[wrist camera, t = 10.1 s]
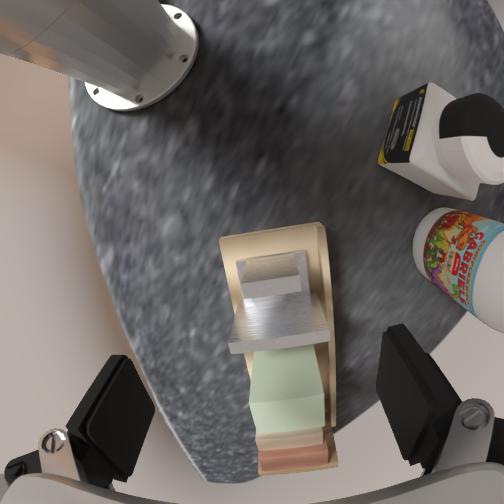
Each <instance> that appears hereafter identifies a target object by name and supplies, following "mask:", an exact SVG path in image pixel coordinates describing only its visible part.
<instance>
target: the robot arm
mask: <svg viewBox="0 0 504 504" xmlns="http://www.w3.org/2000/svg"><path fill="white" fill-rule="evenodd" d="M198 47H199V37H198V32H197V29H196V26H195V25H194V23H193V21H192V19H191V18H190V17H189V16H188V15H187V13H185V12H184V11H182V10H181V9H179V8H177V7H174V6H171V5H166V4H160V3H159V1H158V0H0V53H1V54H4V55H7V56H11V57H14V58H18V59H21V60H24V61H27V62H30V63H33V64H37V65H39V66H42V67H45V68H48V69H51V70H54V71H57V72H59V73H62V74H65V75H67V76H70V77H73V78H75V79H78V80H80V81H83V82H85V86H86V88H87V91H88V93H89V95H90V96H91V97H92V99H93V100H94V101H95V102H97V103H98V104H99V105H101V106H103V107H105V108H108V109H111V110H115V111H125V112H126V111H134V110H138V109H142V108H145V107H148V106H150V105H152V104H154V103H156V102H158V101H160V100H161V99H163V98H164V97H166V96H167V95H169V94H170V93H171V92H172V91H173V90H174V89H175V88H176V87H178V86H179V84H180V83H181V82H182V81H183V80H184V78H185V77H186V76H187V74H188V73H189V71H190V69H191V68H192V66H193V64H194V61H195V59H196V56H197V52H198ZM185 60H187V61H186V62H184V61H185ZM142 99H143V100H142ZM141 100H142V102H141ZM376 390H377V394H378V396H379V398H380V401H381V403H382V406H383V408H384V411H385V413H386V416H387V418H388V420H389V423H390V426H391V428H392V431H393V433H394V436H395V439H396V441H397V444H398V446H399V449H400V452H401V455H402V457H403V459H404V460H408V461H409V463H410V466H412V465H414V464H417V463H421V466H422V468H424V470H423V472H422V474H421V476H420V477H419V478H416V479H412V480H409V481H406V482H403V483H400V484H397V485H394V486H390V487H387V488H384V489H380V490H376V491H372V492H368V493H364V494H360V495H355V496H351V497H346V498H341V499H336V500H331V501H325V502H319V503H312V504H504V419H501V418H496V417H494V411H493V408H492V407H491V406H490V404H489V403H487V402H486V401H484V400H481V399H473V398H472V399H468V400H466V401H464V402H462V401H461V399H460V398H459V396H458V395H457V393H456V392H455V390H454V389H453V387H452V386H451V384H450V383H449V381H448V380H447V378H446V377H445V375H444V374H443V373H442V371H441V370H440V368H439V367H438V365H437V364H436V362H435V361H434V360H433V358H432V357H431V356H430V355H429V354H428V353H425V352H424V351H423V349H422V348H421V347H420V345H419V344H418V342H417V341H416V340H415V338H414V337H413V336H412V334H411V333H410V332H409V330H408V329H407V328H406V326H405V325H404V324H398V325H394V326H390V327H388V328H387V331H386V332H383V335H382V344H381V353H380V361H379V368H378V375H377V381H376ZM154 413H155V407H154V404H153V402H152V400H151V398H150V396H149V395H148V393H147V391H146V389H145V387H144V385H143V383H142V381H141V379H140V377H139V375H138V373H137V371H136V369H135V367H134V364H133V362H132V361H131V359H128V357H127V356H126V355H111V356H110V358H109V359H108V360H107V362H106V363H105V365H104V367H103V368H102V369H101V371H100V372H99V374H98V376H97V377H96V379H95V380H94V382H93V383H92V385H91V387H90V388H89V389H88V391H87V392H86V394H85V396H84V397H83V399H82V401H81V402H80V404H79V405H78V407H77V408H76V410H75V412H74V413H73V415H72V416H71V418H70V420H69V421H68V423H67V425H66V428H67V429H68V432H67V433H66V432H65V431H64V430H61V429H51V430H49V431H47V432H46V433H45V434H43V436H42V437H41V438H40V441H39V445H38V448H39V450H36V451H34V452H31V453H28V454H26V455H23V456H20V457H18V458H15V459H13V460H11V461H10V462H9V463H8V464H7V466H6V468H5V471H4V472H5V474H4V475H5V476H4V475H3V474H1V475H0V504H176V503H169V502H162V501H157V500H151V499H146V498H141V497H136V496H132V495H128V494H124V493H120V492H116V491H115V489H114V487H113V485H112V480H113V479H114V480H118V481H122V482H127V479H128V477H130V476H131V475H132V473H133V470H134V467H135V465H136V462H137V459H138V457H139V454H140V451H141V448H142V445H143V443H144V440H145V437H146V434H147V432H148V429H149V426H150V424H151V421H152V418H153V416H154Z"/></svg>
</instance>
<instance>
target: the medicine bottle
mask: <svg viewBox="0 0 504 504" xmlns="http://www.w3.org/2000/svg"><path fill="white" fill-rule="evenodd" d="M378 164H379V165H380V166H382V167H385V168H387V169H389V170H391V171H393V172H395V173H397V174H399V175H401V176H402V177H404V178H406V179H408V180H410V181H412V182H414V183H416V184H418V185H419V186H421V187H423V188H425V189H427V190H428V191H430V192H432V193H436V194H441V195H446V196H452V197H457V198H462V199H466V200H471V201H473V200H475V198H476V195H477V192H478V188H479V184H480V183H485V184H492V185H499V184H502V183H504V109H503V107H502V106H501V105H500V104H499V103H498V102H496V101H495V100H494V99H493V98H491V97H490V96H488V95H485V94H482V93H476V94H472V95H469V96H466V97H462V98H459V99H456V98H455V97H453V96H452V95H451V94H449V93H448V92H446V91H445V90H443V89H442V88H440V87H439V86H437V85H436V84H434V83H432V82H430V83H427V84H425V85H423V86H421V87H419V88H417V89H416V90H414V91H412V92H410V93H408V94H406V95H404V96H402V97H400V98H398V99H397V100H396V101H395V104H394V108H393V111H392V115H391V118H390V122H389V125H388V129H387V132H386V136H385V139H384V142H383V145H382V149H381V152H380V155H379V158H378Z"/></svg>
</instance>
